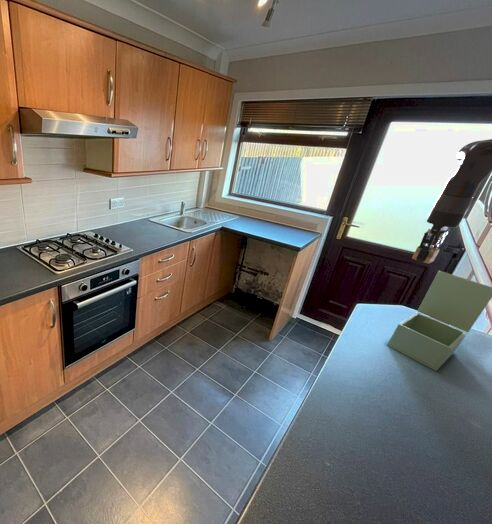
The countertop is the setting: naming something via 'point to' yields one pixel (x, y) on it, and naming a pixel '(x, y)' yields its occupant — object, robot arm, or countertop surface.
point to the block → (430, 256)
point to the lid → (455, 300)
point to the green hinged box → (426, 340)
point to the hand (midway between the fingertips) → (423, 259)
